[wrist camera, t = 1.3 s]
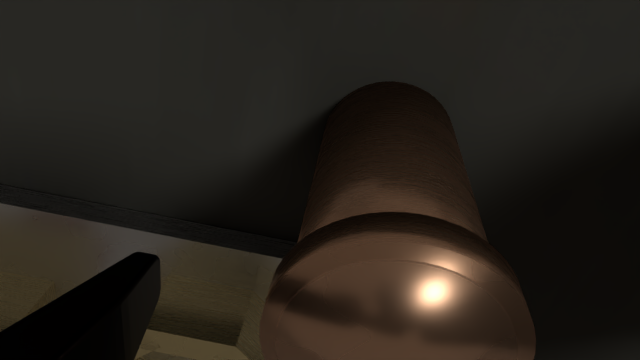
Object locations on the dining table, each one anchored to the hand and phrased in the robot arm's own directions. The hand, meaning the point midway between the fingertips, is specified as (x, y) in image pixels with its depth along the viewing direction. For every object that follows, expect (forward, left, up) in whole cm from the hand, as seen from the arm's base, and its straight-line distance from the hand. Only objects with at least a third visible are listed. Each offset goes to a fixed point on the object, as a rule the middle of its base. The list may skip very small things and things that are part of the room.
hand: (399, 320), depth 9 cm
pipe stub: (0, 0, -7) cm, 7 cm away
